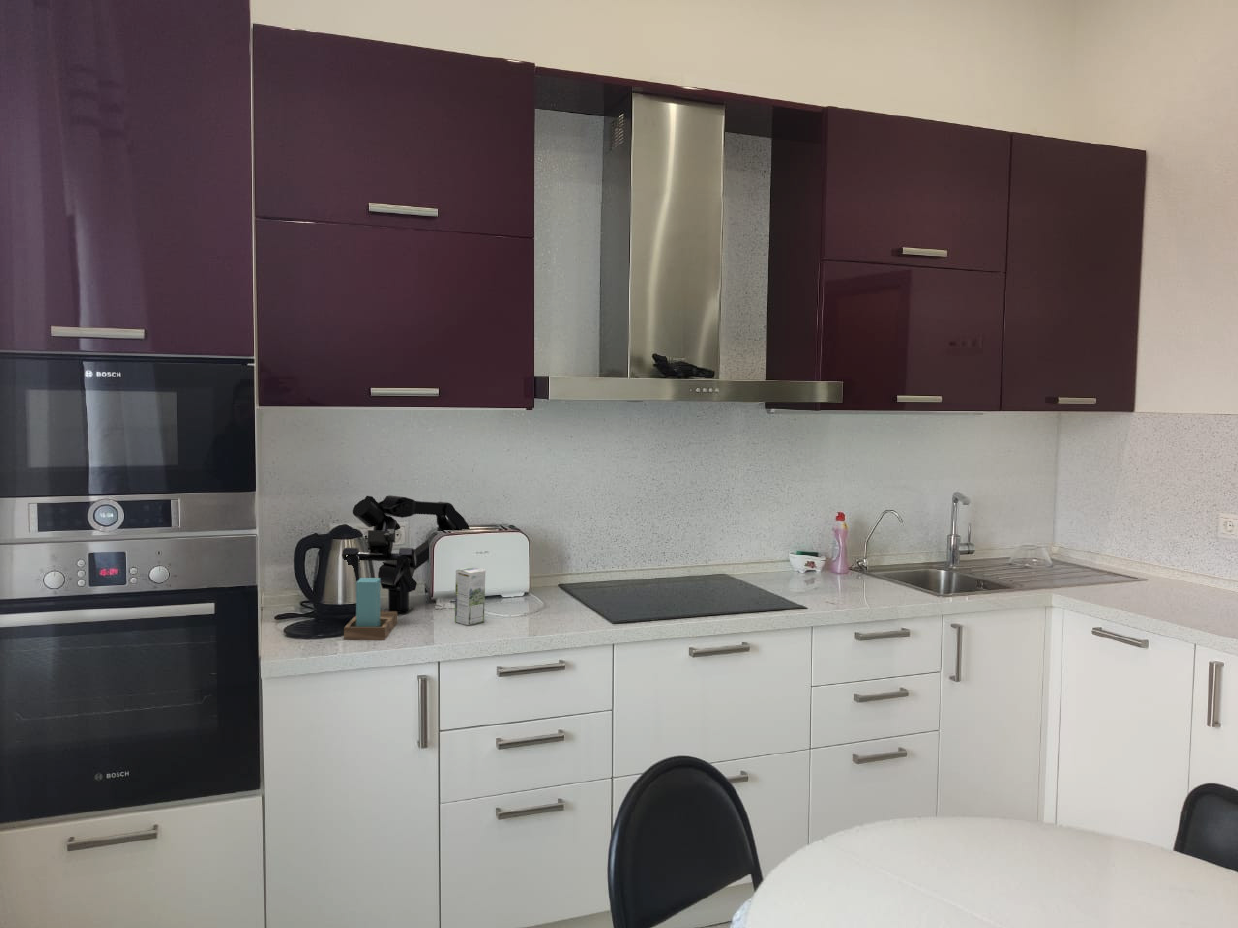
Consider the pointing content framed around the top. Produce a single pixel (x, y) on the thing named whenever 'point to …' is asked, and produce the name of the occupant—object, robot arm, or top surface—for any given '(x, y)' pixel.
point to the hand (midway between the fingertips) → (375, 584)
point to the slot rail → (371, 628)
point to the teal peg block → (368, 602)
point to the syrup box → (469, 596)
